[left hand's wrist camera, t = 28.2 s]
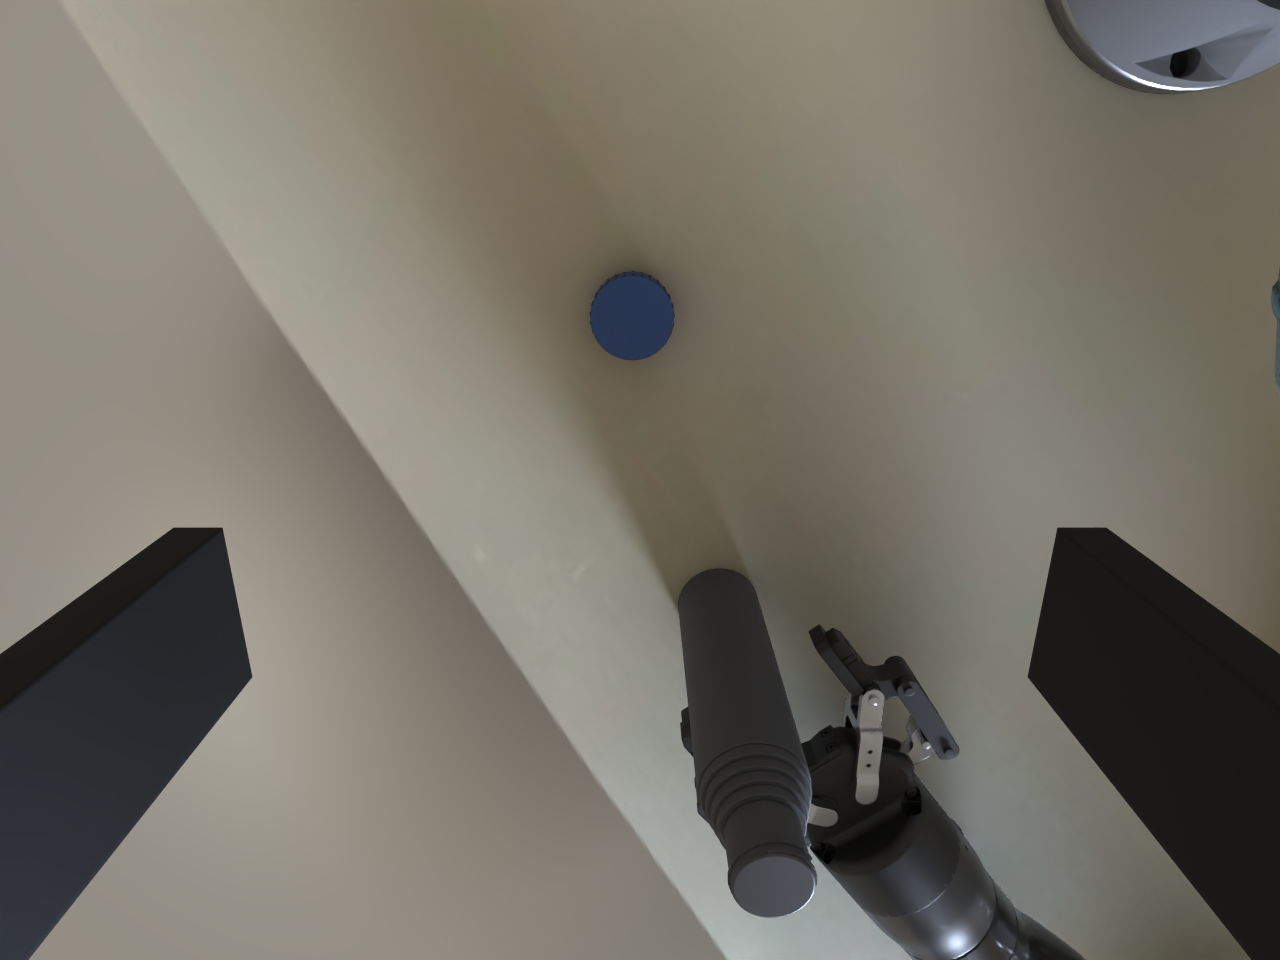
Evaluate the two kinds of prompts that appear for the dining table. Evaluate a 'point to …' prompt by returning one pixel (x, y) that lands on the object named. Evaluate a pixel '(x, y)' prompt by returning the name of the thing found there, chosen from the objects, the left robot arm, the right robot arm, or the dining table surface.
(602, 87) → the dining table surface
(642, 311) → the cap
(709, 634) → the bottle
